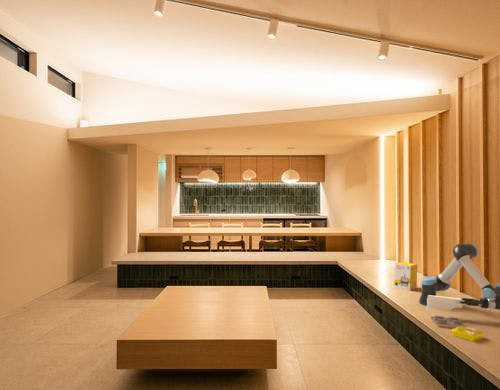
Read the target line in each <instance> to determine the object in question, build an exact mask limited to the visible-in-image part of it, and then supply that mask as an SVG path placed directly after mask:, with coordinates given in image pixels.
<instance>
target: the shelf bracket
mask: <svg viewBox="0 0 500 390" xmlns="http://www.w3.org/2000/svg"><path fill="white" fill-rule="evenodd" d="M461 299H462V298H461ZM461 299H460V297H458V298H457V297H450V296H440V295H436V296H432V295H428V298H427V305H426V312H429V311H431V309H432V308H434V309H440V310H441V309H442V310H450V311H452V310H453V309H456V308H459V309H460V308H461V309H462V308H463V304H457V303H455V300H461Z"/></svg>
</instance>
